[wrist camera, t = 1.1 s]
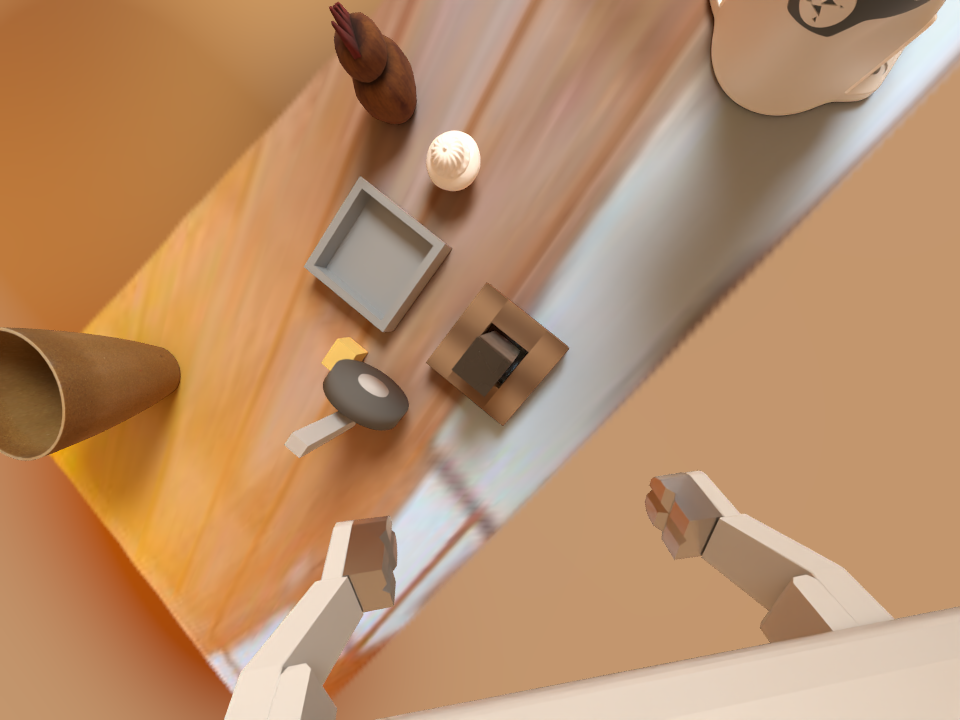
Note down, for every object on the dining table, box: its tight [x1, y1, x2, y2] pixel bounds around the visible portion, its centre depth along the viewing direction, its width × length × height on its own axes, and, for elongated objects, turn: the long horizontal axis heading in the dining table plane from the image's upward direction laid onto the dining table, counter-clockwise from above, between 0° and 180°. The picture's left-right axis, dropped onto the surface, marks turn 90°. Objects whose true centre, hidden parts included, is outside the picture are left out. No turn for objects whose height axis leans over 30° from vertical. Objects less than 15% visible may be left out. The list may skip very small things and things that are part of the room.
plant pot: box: [0, 327, 180, 461], centre depth 47 cm, size 15×15×16 cm
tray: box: [304, 176, 452, 332], centre depth 45 cm, size 13×13×3 cm
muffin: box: [426, 131, 480, 191], centre depth 40 cm, size 6×6×7 cm
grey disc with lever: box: [284, 337, 409, 458], centre depth 42 cm, size 7×13×15 cm, turn 52°
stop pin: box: [452, 331, 520, 397], centre depth 39 cm, size 4×4×12 cm
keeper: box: [426, 282, 569, 426], centre depth 44 cm, size 12×12×3 cm
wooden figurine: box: [329, 2, 417, 124], centre depth 36 cm, size 7×6×15 cm
